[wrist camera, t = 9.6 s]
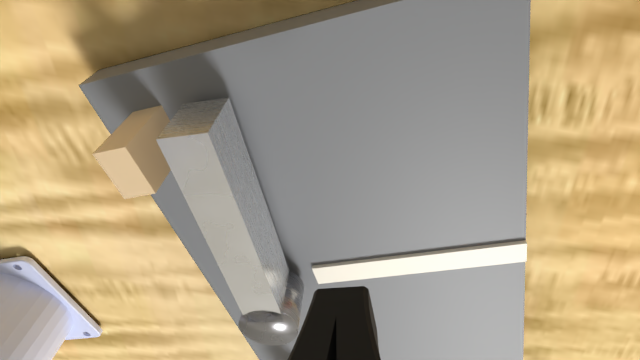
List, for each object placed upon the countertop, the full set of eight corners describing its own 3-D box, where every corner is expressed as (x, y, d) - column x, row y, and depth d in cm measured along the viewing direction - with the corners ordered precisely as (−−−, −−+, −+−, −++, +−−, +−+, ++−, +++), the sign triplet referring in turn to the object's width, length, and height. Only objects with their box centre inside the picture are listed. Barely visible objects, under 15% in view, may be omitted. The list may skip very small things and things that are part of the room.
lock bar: (309, 301, 22) (303, 344, 20) (258, 303, 22) (248, 346, 20) (242, 95, 15) (223, 130, 13) (171, 105, 15) (141, 141, 13)
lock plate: (284, 372, 30) (273, 439, 27) (98, 70, 17) (26, 124, 13) (515, 358, 27) (538, 434, 23) (516, -43, 13) (571, -10, 10)
